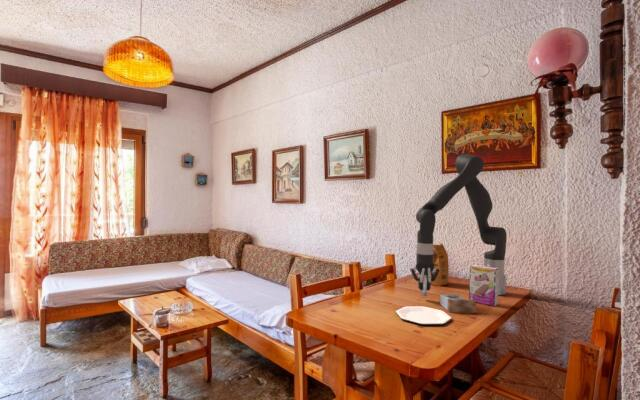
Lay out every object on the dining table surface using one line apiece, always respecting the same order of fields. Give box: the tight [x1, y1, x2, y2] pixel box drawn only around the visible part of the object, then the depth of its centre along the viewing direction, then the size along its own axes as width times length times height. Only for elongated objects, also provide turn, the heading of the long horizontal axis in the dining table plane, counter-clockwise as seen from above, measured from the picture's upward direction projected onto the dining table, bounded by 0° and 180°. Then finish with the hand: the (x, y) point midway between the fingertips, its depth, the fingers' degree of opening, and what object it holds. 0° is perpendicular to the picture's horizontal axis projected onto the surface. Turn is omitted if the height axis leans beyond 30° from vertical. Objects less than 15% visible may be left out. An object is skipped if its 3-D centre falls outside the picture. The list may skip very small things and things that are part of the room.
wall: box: [447, 298, 477, 314], centre depth 143 cm, size 11×2×5 cm, turn 92°
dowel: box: [420, 274, 428, 297], centre depth 158 cm, size 3×3×10 cm
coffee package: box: [431, 242, 450, 287], centre depth 190 cm, size 10×12×22 cm
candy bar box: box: [468, 264, 499, 307], centre depth 155 cm, size 11×5×16 cm, turn 47°
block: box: [439, 293, 465, 311], centre depth 147 cm, size 8×8×4 cm
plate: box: [395, 305, 452, 326], centre depth 135 cm, size 20×20×2 cm
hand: (424, 289), depth 158 cm, fingers closed on dowel, 2 cm apart
